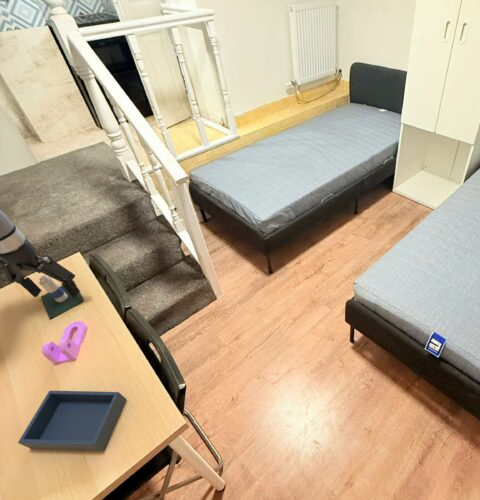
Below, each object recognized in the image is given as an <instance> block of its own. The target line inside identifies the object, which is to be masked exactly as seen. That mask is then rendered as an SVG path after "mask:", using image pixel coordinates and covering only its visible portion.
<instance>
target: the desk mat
mask: <svg viewBox="0 0 480 500" xmlns="http://www.w3.org/2000/svg"><path fill="white" fill-rule="evenodd" d="M72 281H73V282H74V283H75V284H76V282H75V280H74V279H73V280H72ZM59 287H60V288H61V289H62V290H63V291H64V292H65V293H66V294H67V296H68V297H67V299H66V300H65V301H63V302H57V301H56V300H55V299H54V298H53V297H52V296H51V295H50V294H49V293H48V292H47V293H44V294H43V295H41V296H40V300H41V301H42V304H43V307H44V309H45V312H46V314H47V316H48V319H49V320H50V321H51V320H53V319H54V318H56V317H58V316H60V315H62V314H64V313H65V312H68V311H69V310H71V309H73V308H75V307H77V306H78V305H81V304H82V303H84V302H85V300H84V298H83V295H82V294H81V291H79V293H78V294H77V296H76V297H75V298H74V297H72V296H71V295H70V294H69V293H68V291H67V290H66V289H65V288H64V287H63V286H62V285H59ZM76 287H77V288H78V286H77V285H76Z"/></svg>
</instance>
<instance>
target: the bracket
mask: <svg viewBox="0 0 480 500" xmlns="http://www.w3.org/2000/svg"><path fill="white" fill-rule="evenodd" d="M87 330H88V326H87V324H86V323H84V322H83V321H81V320H76V321H74V322H71V323H70V324H68V325H67V326H65V328H64V330H63V333H62V336H61V338H60V341H59V344H57V343H55V342H54V341H50V342H46V343H44V344H43V345H42V347H41V353H42V355H43V357H45V358H46V359H47V360H48V361H50V363H52V364H54V365H58V364H63V363H67V362H72V361H77V359H78V356H79V353H80V349H81V346H82V343H84V342H85V341H84V340H85V337H86V333H87ZM74 332H75V336H74V339H72V338H73V335H74Z"/></svg>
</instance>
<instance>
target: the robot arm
mask: <svg viewBox="0 0 480 500" xmlns="http://www.w3.org/2000/svg"><path fill="white" fill-rule="evenodd" d="M0 266H1V267H2V269H3V271H4V274H5V277H6V278H7V281H8V282H10V283H14V282H15V283H16V284H18V285H21V287H23V288H24V289H25V290H26V291H27V292H28V293H29V294H30V295H31V296H32V297H33V298H38V296H39V295H40V294H41V292H42V289H41V288H40V287H39V286H38V285H37V284H36V283H35V282H34V281H33V280H32V279H31V278H30V277H27V272H28V271H32V272H36V273H38V274H44V276H46V277H51V278H52V279H53V280H56V281H58V282H59V283H61V284H60V286H63V287H64V288H65V289H66V290H67V291H68V293H69V294H70V295H71V296H72V297H74V298H75V297H76V296H77V294H78V293H79V292H81V290H80V289H79V288H78V286H77V284H76V282H75V281H74V279H75V277H76V274H74V273H73V272H71V271H70V270H69V269H67V268H66V267H64V266H62V265H61V264H59V263H58V262H57V261H55V259H53V258H52V257H51V256H50V255H48V254H45V256H43V257H41V256H39V255H38V254H36V249H35V246H34V245H33V244H32V243H31V242H30V241H29V240H28V239H27V238H26V235H24V234H23V232H21V230H20V229H19V228H18V227H17V226H16V225H15V224H14V223H13V222H12V221H11V220H10V219H9V218H8V217H7V215H6V214H5V213H4V212H3V211H2V210H1V208H0ZM72 280H73V281H74V282H75V283H74V282H73V281H72ZM76 286H77V287H76Z"/></svg>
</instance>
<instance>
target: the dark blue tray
mask: <svg viewBox="0 0 480 500" xmlns="http://www.w3.org/2000/svg"><path fill="white" fill-rule="evenodd" d="M126 402H127V398H126V397H125V396H124V395H123V394H122V393H120V391H94V390H92V391H90V390H89V391H88V390H87V391H86V390H48V392H47V394H46V395H45V397H44V399H43V400H42V402H41V404H40V405H39V407H38V409H37V410H36V412H35V413H34V415H33V417H32V419H31V420H30V422H29V423H28V425H27V426H26V428H25V430H24V432H23V434H21V436H20V438H19V440H18V442H17V444H19V445H22V446H23V447H26V448H27V449H30V450H52V451H53V450H55V451H56V450H57V451H88V452H89V451H91V452H92V451H93V452H105V451H106V448H107V447H108V444H109V442H110V439H111V437H112V434H113V432H114V430H115V428H116V426H117V423H118V421H119V419H120V416H121V414H122V411H123V409H124V407H125V405H126Z"/></svg>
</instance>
